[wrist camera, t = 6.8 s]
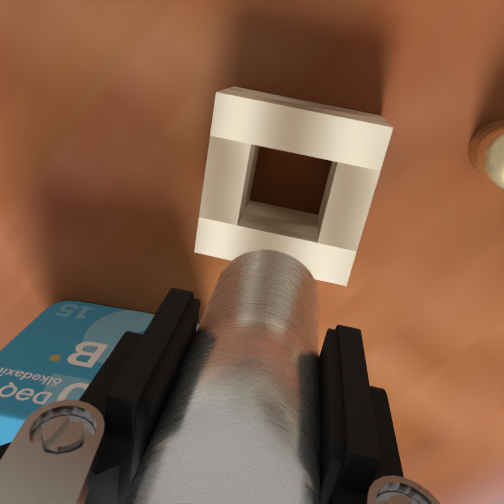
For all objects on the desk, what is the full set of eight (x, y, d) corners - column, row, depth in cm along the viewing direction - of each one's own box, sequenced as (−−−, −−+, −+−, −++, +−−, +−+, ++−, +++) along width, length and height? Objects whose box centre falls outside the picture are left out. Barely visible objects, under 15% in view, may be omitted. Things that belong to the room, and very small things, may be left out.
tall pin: (329, 262, 14) (356, 687, 5) (305, 349, 15) (288, 813, 6) (224, 239, 14) (45, 607, 5) (209, 327, 15) (48, 748, 6)
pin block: (381, 115, 27) (393, 127, 23) (343, 252, 31) (346, 286, 26) (233, 86, 28) (216, 92, 23) (212, 223, 31) (194, 252, 27)
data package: (209, 321, 35) (156, 444, 24) (205, 370, 36) (154, 504, 26) (57, 296, 36) (-60, 401, 25) (61, 344, 38) (-47, 463, 27)
